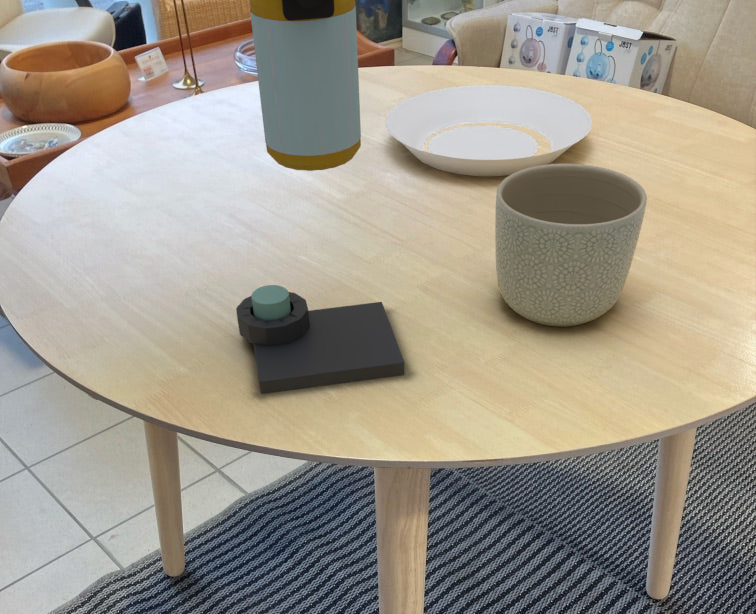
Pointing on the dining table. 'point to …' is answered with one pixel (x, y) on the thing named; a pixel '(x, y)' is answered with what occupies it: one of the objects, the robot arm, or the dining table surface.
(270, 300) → the button
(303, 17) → the robot arm
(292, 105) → the bottle
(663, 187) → the dining table surface
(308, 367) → the scale
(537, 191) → the planter
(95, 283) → the dining table surface
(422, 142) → the bowl
